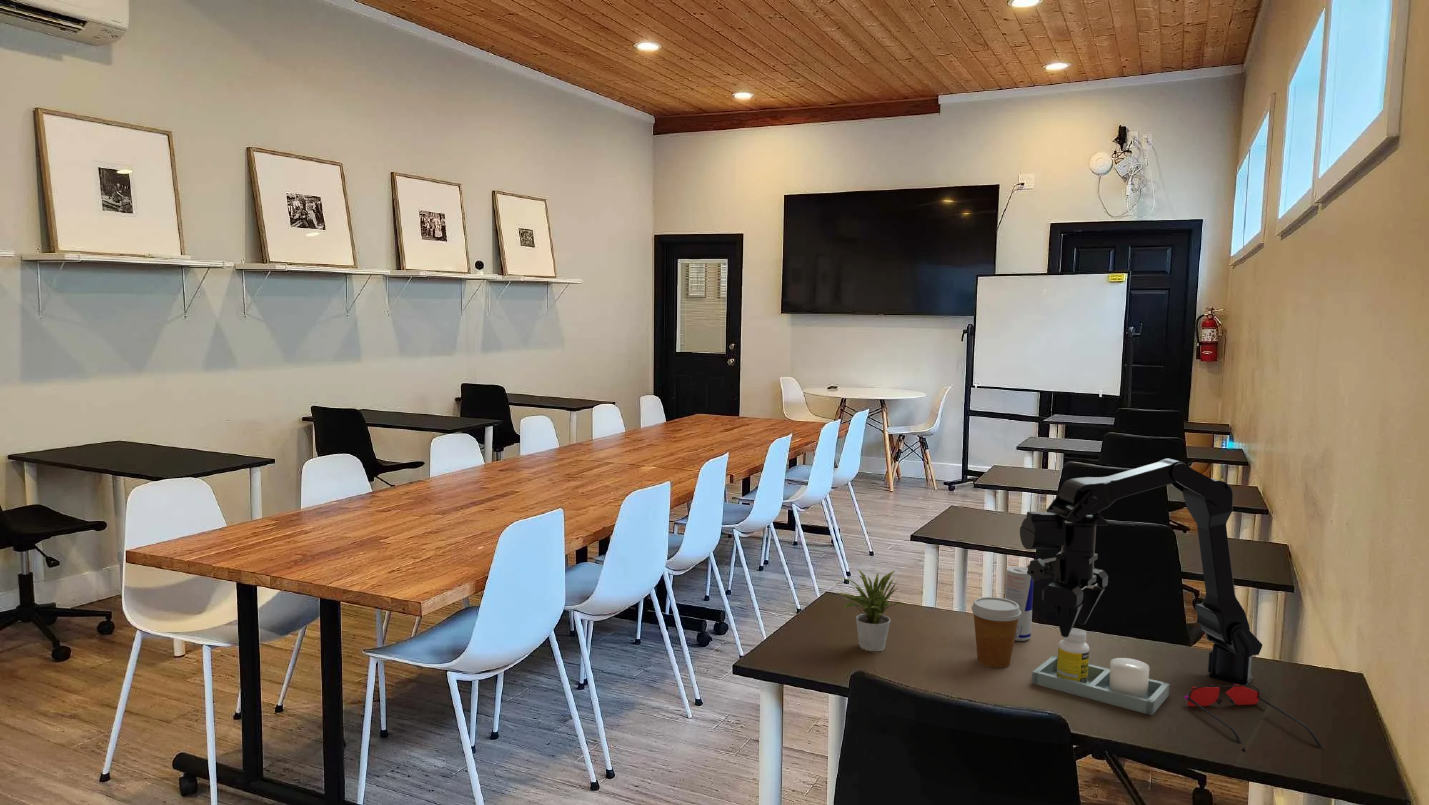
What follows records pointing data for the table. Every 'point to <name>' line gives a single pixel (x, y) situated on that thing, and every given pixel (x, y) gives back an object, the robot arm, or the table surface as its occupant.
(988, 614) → the disposable coffee cup
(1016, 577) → the beverage can
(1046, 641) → the table surface
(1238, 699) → the glasses
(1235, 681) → the robot arm
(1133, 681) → the white pillar candle
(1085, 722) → the table surface
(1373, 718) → the table surface
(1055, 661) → the tray
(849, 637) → the table surface
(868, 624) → the house plant
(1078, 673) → the supplement bottle
